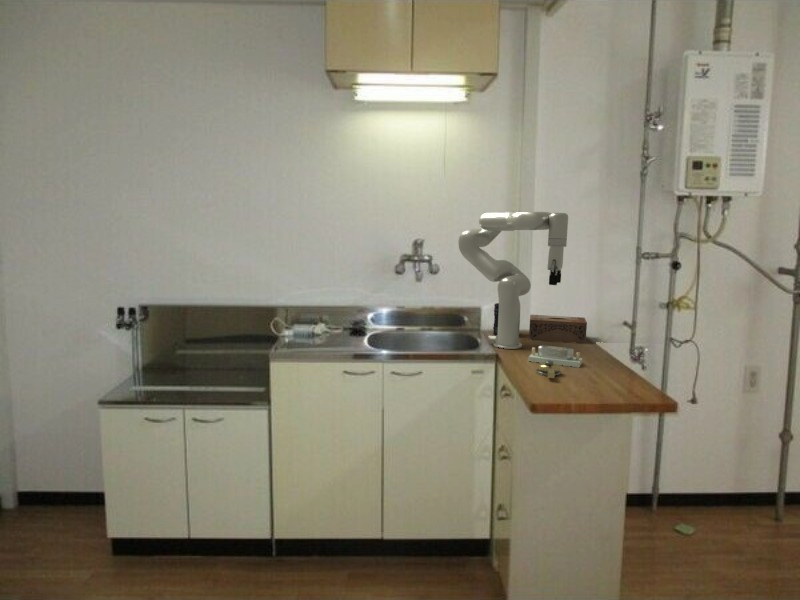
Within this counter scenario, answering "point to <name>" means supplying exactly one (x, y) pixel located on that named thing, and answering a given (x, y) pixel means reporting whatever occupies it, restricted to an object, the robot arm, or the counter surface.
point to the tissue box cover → (558, 328)
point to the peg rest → (574, 363)
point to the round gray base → (546, 373)
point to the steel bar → (555, 352)
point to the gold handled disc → (549, 368)
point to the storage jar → (496, 319)
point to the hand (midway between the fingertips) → (554, 283)
